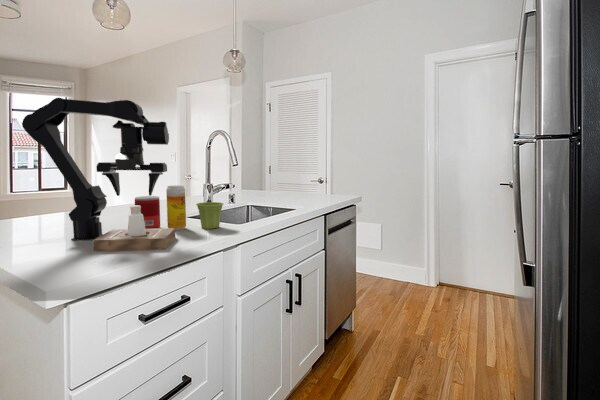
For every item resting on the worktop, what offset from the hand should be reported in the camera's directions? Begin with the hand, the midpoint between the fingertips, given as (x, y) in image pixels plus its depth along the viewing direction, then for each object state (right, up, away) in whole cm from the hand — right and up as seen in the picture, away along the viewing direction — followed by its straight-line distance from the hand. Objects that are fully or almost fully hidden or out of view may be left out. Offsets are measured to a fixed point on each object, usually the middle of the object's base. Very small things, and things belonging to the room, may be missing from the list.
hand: (134, 195), depth 107 cm
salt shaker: (+4, -14, -7) cm, 16 cm away
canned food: (-2, -12, +15) cm, 19 cm away
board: (+4, -14, -7) cm, 16 cm away
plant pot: (+19, -11, +18) cm, 28 cm away
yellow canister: (+8, -12, +15) cm, 20 cm away
